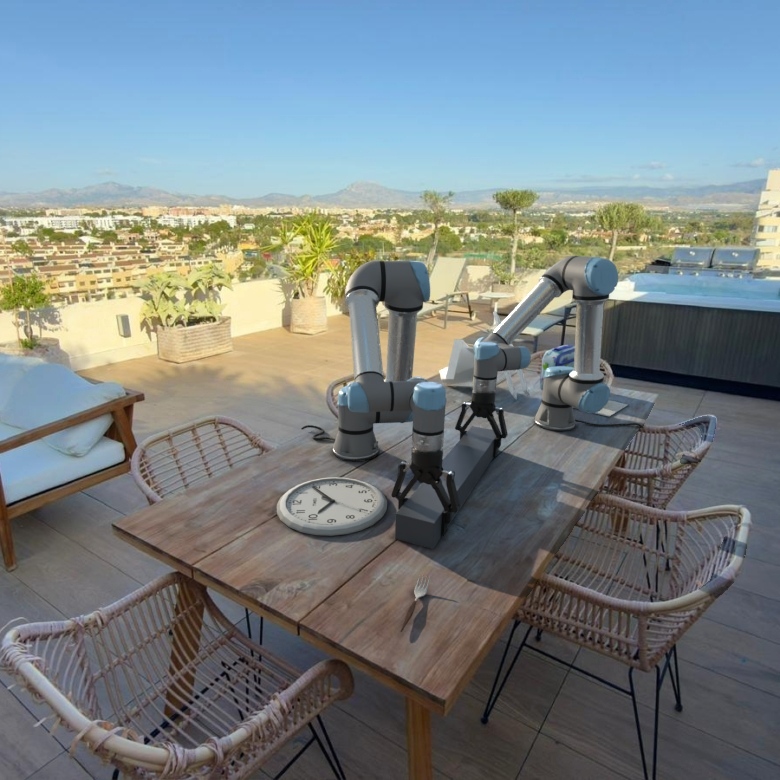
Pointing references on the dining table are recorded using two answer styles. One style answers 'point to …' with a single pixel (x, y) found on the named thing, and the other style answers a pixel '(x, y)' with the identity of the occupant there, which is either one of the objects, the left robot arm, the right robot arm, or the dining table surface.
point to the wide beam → (424, 507)
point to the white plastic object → (472, 366)
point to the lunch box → (557, 359)
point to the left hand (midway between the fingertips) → (423, 528)
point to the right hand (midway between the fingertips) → (479, 452)
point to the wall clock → (331, 506)
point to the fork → (418, 593)
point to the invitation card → (611, 408)
